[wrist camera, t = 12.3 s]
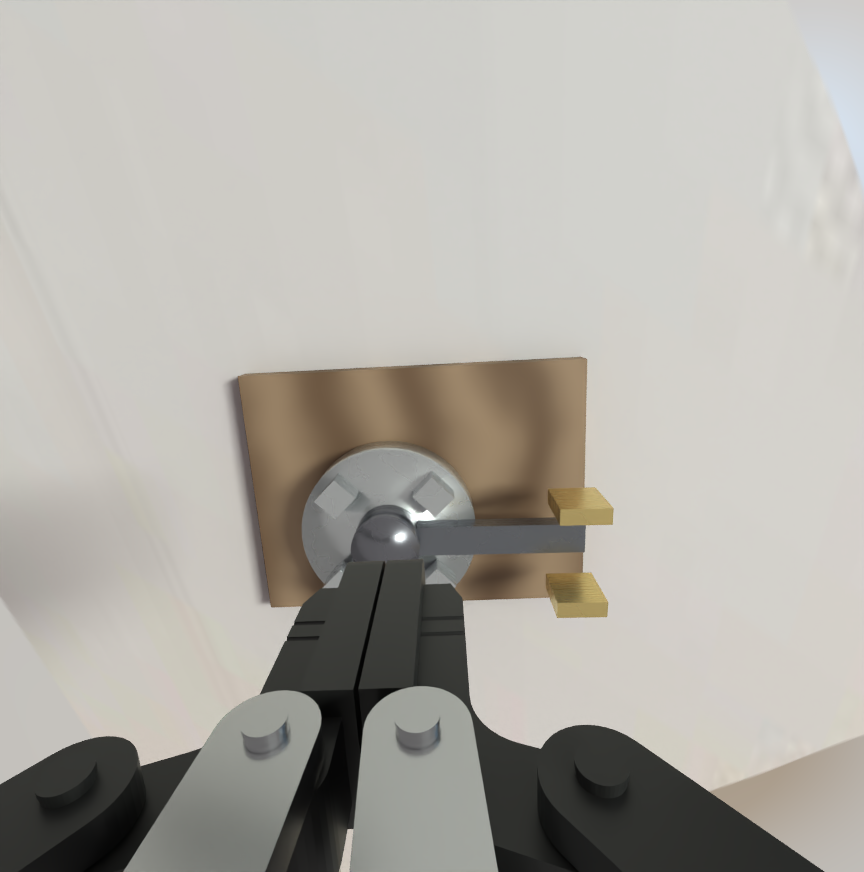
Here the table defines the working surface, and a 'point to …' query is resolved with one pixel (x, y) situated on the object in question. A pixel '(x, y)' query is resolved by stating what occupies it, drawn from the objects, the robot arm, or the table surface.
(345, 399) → the base plate
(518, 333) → the table surface
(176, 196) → the table surface
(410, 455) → the silver rotary lever
